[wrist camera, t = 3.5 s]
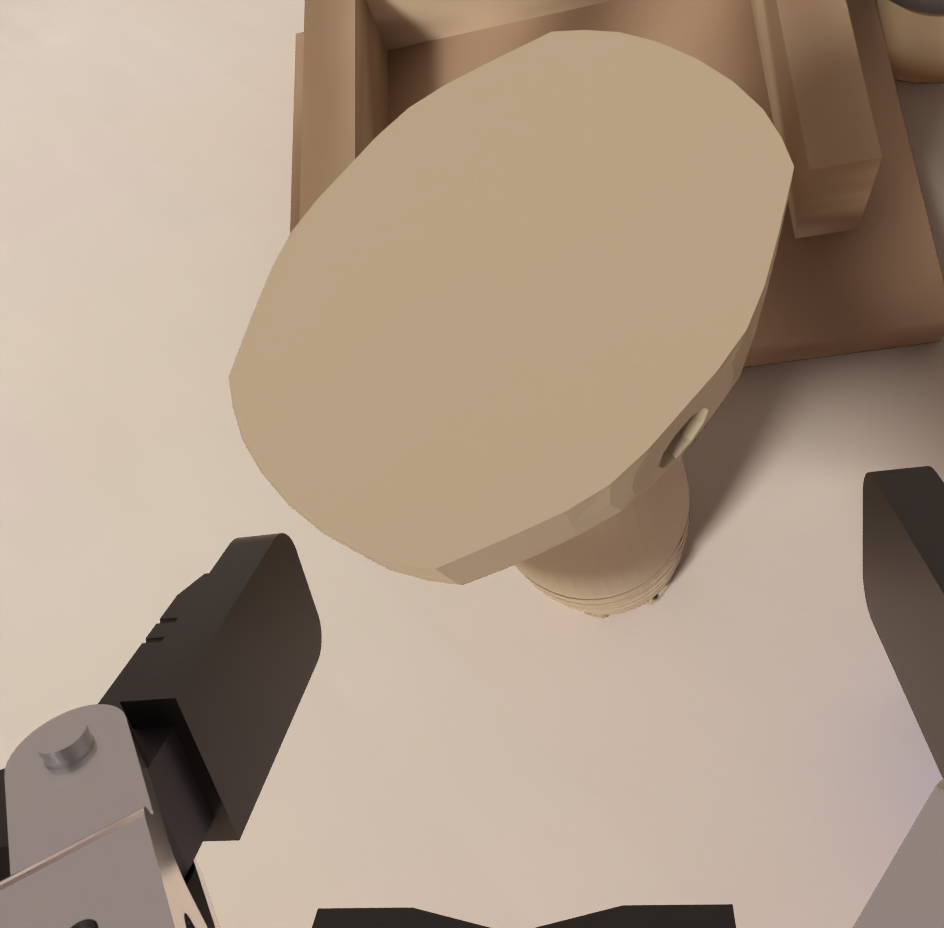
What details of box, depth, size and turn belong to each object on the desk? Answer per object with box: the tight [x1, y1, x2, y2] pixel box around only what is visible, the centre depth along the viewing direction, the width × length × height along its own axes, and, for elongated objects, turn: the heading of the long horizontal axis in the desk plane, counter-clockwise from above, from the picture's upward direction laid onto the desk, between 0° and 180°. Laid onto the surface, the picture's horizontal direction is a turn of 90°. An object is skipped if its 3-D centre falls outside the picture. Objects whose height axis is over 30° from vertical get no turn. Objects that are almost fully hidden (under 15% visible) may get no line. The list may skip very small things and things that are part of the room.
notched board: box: [290, 0, 944, 367], centre depth 25 cm, size 18×14×4 cm
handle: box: [229, 30, 794, 618], centre depth 16 cm, size 5×6×15 cm
